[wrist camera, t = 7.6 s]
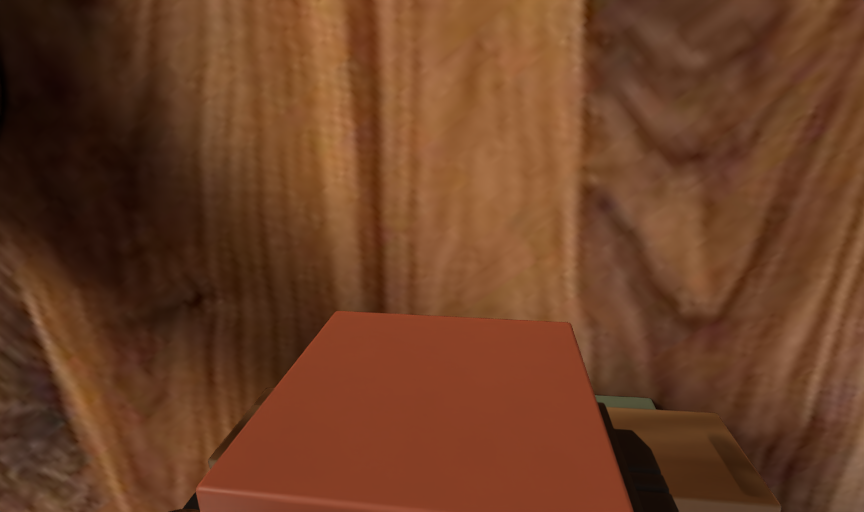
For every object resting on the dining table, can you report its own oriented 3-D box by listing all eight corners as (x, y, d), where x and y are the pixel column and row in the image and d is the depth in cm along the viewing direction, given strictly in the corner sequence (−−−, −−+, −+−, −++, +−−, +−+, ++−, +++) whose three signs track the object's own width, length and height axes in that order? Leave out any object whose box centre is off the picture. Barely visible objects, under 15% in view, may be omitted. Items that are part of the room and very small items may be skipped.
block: (334, 309, 10) (192, 488, 5) (571, 321, 9) (645, 536, 5) (349, 491, 12) (248, 755, 7) (553, 512, 11) (595, 819, 6)
